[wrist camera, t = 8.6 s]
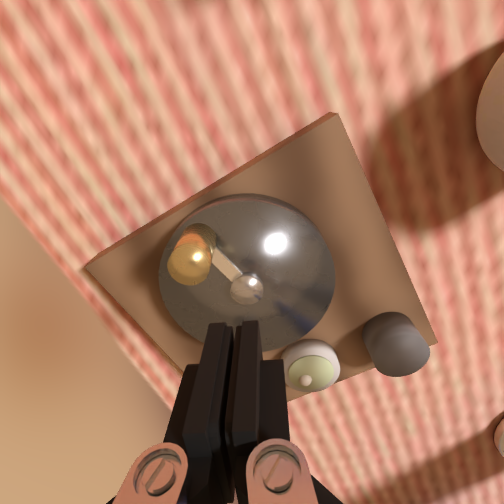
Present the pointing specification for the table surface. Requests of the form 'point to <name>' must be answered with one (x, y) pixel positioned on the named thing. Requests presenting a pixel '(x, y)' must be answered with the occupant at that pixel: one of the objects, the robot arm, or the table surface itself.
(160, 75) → the table surface
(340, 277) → the levelling base
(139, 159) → the table surface
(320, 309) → the silver metal dome
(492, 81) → the teacup
